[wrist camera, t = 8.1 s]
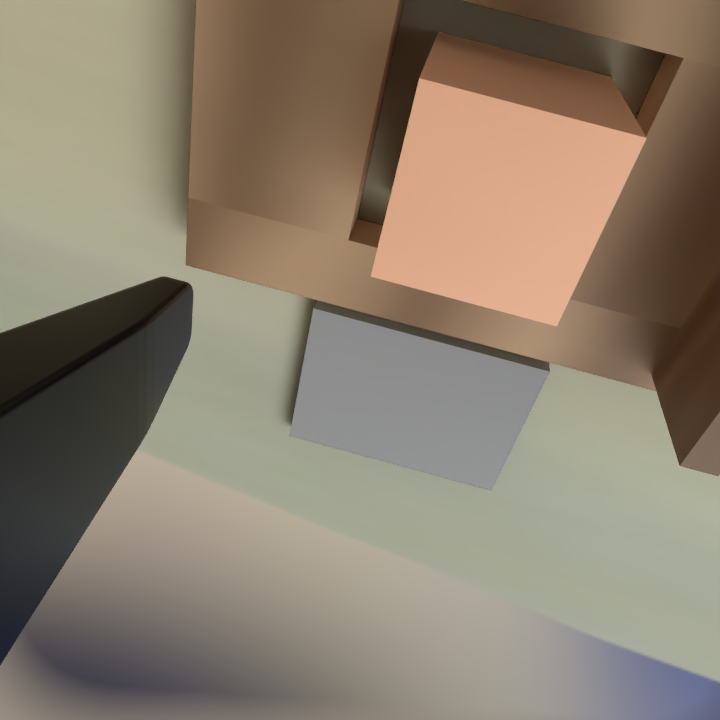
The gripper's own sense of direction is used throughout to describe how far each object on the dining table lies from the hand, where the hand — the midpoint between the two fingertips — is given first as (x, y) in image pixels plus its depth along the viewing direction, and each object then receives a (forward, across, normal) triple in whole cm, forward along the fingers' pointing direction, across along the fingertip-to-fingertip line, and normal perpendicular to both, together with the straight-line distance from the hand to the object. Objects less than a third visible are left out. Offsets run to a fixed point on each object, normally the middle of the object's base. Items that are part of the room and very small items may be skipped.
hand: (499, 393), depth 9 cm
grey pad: (+11, 0, +10) cm, 15 cm away
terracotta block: (+11, 0, 0) cm, 11 cm away
